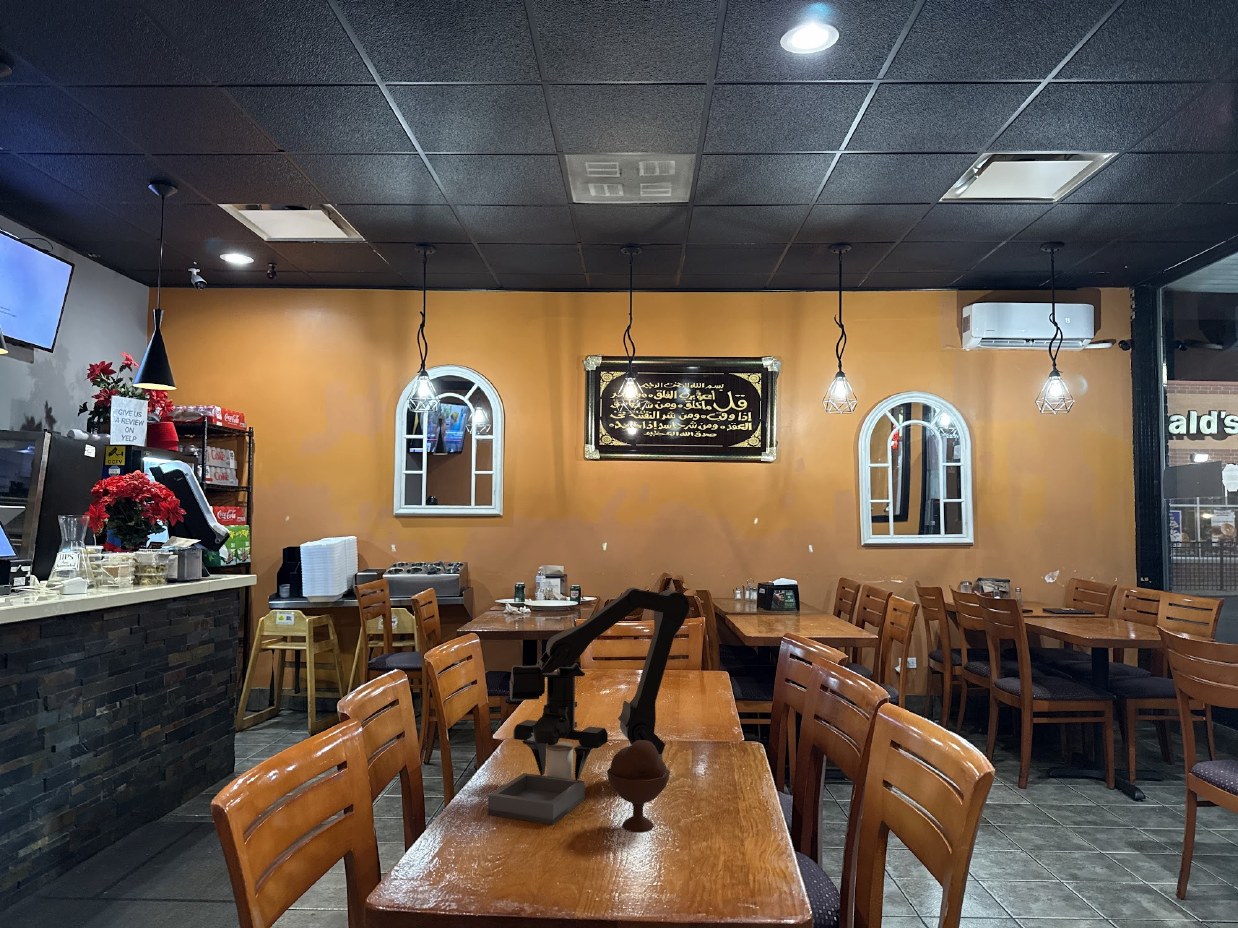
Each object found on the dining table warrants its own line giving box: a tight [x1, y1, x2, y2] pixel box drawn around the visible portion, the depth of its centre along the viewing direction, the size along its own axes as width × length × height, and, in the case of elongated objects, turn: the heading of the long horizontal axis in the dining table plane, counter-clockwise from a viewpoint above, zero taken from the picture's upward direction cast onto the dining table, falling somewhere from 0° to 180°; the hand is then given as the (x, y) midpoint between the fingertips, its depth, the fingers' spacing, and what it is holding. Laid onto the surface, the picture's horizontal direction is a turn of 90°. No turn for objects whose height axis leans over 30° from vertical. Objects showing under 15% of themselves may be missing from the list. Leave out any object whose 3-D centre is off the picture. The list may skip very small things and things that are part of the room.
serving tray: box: [487, 772, 586, 826], centre depth 151 cm, size 13×14×4 cm
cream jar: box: [546, 740, 574, 779], centre depth 164 cm, size 5×5×8 cm
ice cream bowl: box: [606, 740, 671, 833], centre depth 142 cm, size 11×11×15 cm
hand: (559, 776), depth 164 cm, fingers open, 7 cm apart
